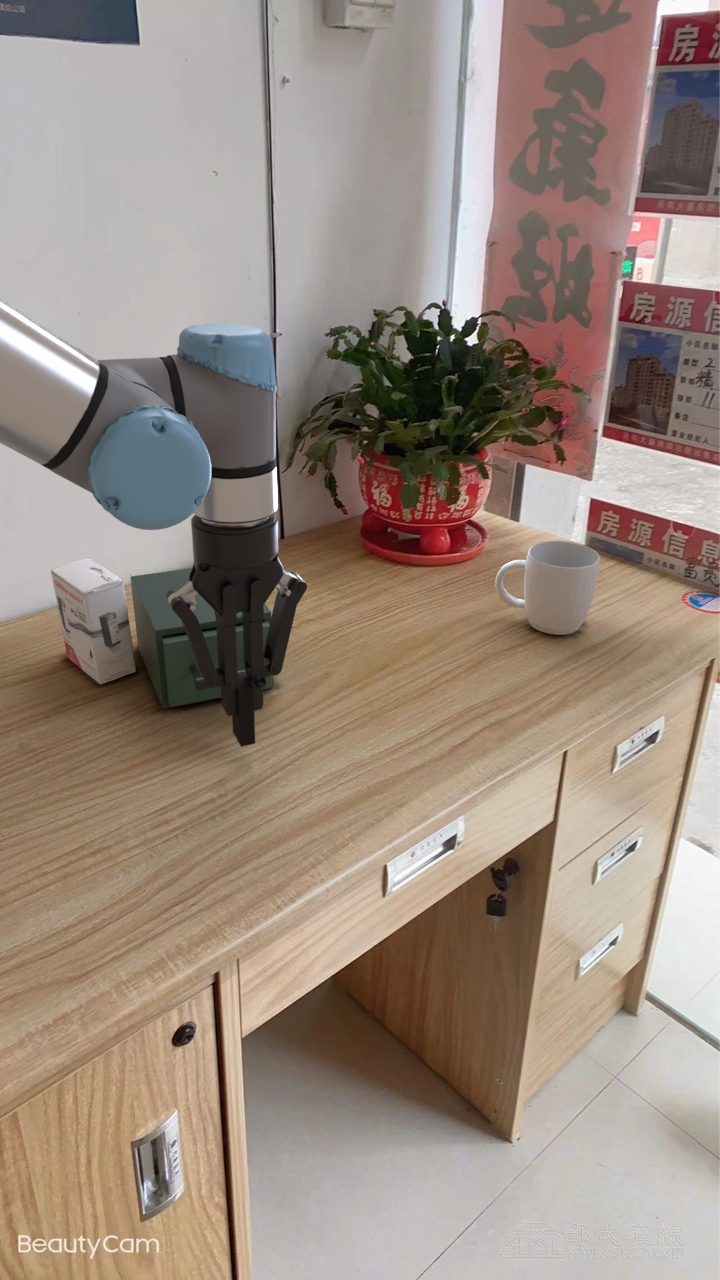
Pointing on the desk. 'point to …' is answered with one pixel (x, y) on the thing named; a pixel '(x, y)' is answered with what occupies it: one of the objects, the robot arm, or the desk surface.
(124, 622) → the ink box
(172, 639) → the drawer
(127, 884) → the desk surface
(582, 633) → the desk surface
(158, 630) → the cabinet
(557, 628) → the mug
